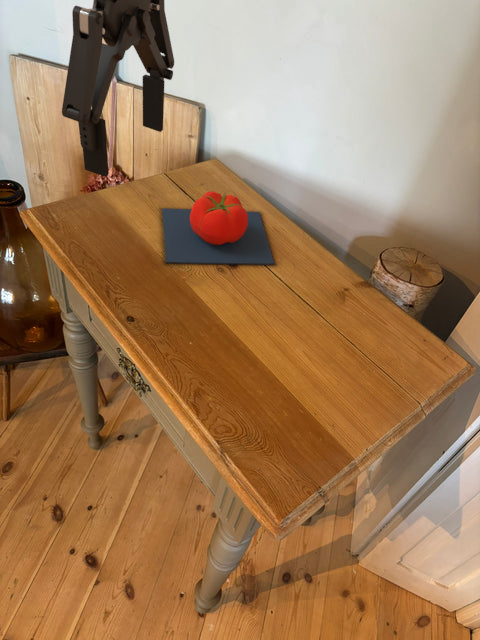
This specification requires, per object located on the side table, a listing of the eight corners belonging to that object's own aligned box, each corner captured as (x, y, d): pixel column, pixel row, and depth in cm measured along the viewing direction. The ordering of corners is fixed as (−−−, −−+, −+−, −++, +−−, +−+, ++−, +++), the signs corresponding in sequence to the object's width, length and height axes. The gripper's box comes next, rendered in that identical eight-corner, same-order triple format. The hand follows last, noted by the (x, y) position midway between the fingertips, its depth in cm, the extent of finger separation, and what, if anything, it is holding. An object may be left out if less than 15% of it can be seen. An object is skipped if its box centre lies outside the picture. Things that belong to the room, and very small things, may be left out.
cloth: (165, 263, 82) (166, 261, 82) (162, 209, 92) (162, 208, 92) (274, 264, 86) (274, 263, 86) (258, 213, 97) (259, 211, 96)
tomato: (253, 247, 88) (260, 214, 83) (200, 256, 84) (204, 222, 78) (231, 214, 94) (236, 181, 89) (180, 221, 90) (182, 188, 84)
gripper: (76, -35, 34) (97, 206, 50) (210, -68, 51) (195, 121, 66) (-10, -60, 35) (37, 183, 51) (149, -84, 52) (148, 105, 67)
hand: (127, 148), depth 59 cm, fingers open, 13 cm apart
